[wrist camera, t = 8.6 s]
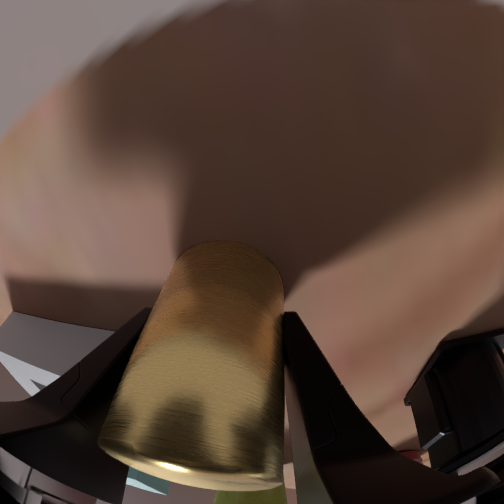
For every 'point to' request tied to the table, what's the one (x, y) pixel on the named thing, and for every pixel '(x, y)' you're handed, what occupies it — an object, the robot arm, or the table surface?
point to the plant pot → (252, 496)
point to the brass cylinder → (207, 376)
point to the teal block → (147, 481)
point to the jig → (44, 348)
